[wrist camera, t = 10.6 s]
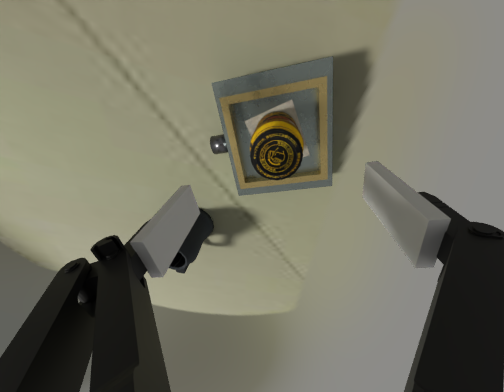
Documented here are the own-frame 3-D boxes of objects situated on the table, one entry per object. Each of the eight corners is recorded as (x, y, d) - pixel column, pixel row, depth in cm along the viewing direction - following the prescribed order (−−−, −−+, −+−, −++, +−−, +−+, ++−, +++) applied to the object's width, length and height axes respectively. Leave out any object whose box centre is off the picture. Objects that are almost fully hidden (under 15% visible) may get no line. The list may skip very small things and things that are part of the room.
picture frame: (203, 87, 33) (187, 87, 27) (324, 60, 29) (335, 54, 23) (228, 185, 41) (221, 201, 35) (325, 173, 37) (334, 189, 32)
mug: (175, 203, 45) (146, 236, 35) (214, 210, 45) (197, 246, 35) (177, 242, 51) (152, 280, 41) (212, 249, 51) (196, 289, 41)
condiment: (291, 99, 28) (299, 108, 17) (309, 154, 31) (325, 190, 21) (244, 120, 30) (226, 141, 19) (265, 170, 33) (260, 210, 23)
